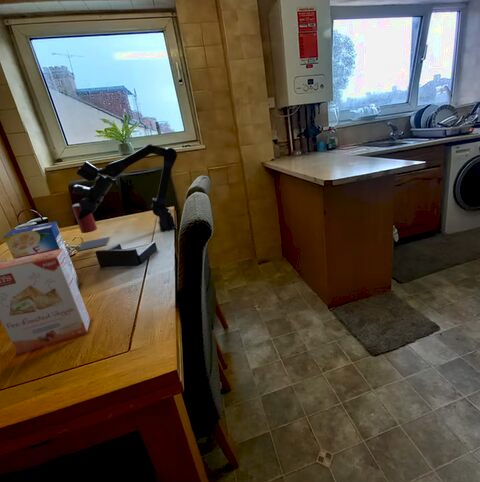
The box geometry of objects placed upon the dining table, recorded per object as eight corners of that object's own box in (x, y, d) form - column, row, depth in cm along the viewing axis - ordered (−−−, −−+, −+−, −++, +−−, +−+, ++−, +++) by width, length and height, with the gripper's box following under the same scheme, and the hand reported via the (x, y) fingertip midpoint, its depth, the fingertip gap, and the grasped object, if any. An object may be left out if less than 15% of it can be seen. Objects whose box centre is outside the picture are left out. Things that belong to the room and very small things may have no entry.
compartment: (120, 253, 113) (115, 237, 111) (158, 251, 111) (153, 235, 108) (99, 269, 101) (93, 251, 99) (140, 267, 99) (135, 249, 96)
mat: (109, 237, 134) (108, 237, 134) (105, 245, 124) (105, 244, 124) (83, 242, 131) (83, 242, 131) (77, 251, 121) (77, 250, 121)
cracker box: (17, 356, 62) (-27, 275, 55) (27, 339, 67) (-12, 263, 60) (88, 334, 67) (56, 256, 60) (91, 320, 72) (62, 246, 65)
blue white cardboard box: (77, 293, 86) (51, 227, 78) (35, 305, 82) (2, 236, 74) (80, 283, 92) (56, 221, 84) (41, 294, 88) (11, 230, 80)
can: (100, 228, 126) (91, 202, 122) (86, 233, 121) (76, 206, 116) (92, 227, 129) (82, 201, 125) (78, 232, 124) (68, 205, 119)
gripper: (86, 174, 126) (67, 203, 127) (76, 180, 110) (54, 212, 110) (110, 188, 131) (92, 215, 132) (104, 195, 115) (83, 226, 115)
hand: (81, 217), depth 122 cm, fingers closed on can, 6 cm apart
